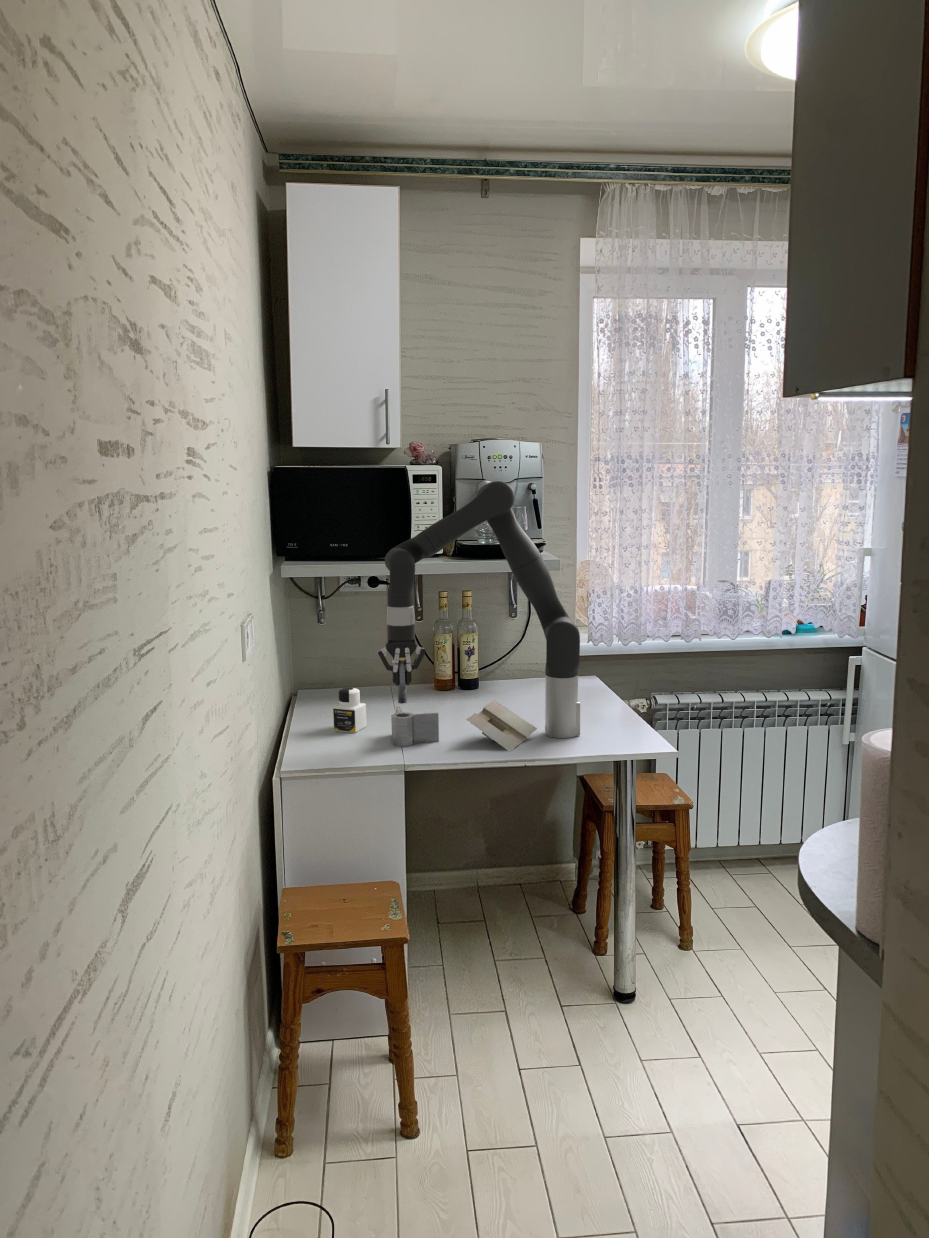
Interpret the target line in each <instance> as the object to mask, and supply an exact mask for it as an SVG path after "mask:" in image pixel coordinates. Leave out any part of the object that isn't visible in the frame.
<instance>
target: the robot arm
mask: <svg viewBox="0 0 929 1238" xmlns="http://www.w3.org/2000/svg"><path fill="white" fill-rule="evenodd" d="M515 496H516V495H515V492H514V489H513V487H512V486H511V485H509V484H508V482H505V481H499V480H494V481H490V482H489V483H485V484H484V485H482V486H481V487H480V488H479V489H478V491H477V495H476V497H474V498H473V499H472V500H471V501H469V502H468V503H467V504H465V505H464V506H462V507H461V508H460V509H458V510H455V511H454V512H452V513H451V514H449V515H447V516H445V517H443V518H442V519H439V520H438V521H436V522H435V523H432V524H431V525H429V526H427V527H426V528H425V529H424V530H422V531H420V532H419V533H417V534H416V535H415V536H413V537H411V538H409V539H407V540H406V541H405V540H404V541H403V542H401V543H400V544H397V545H395V546H394V547H392V548H391V549H390V550H389V551H388V552H387V553H386V555H385V557H384V564H385V567H386V568H387V570H388V571H389V586H388V587H387V594H386V595H387V599H386V600H387V602H386V603H387V610H386V638H387V639H386V644H385V647H382V648H381V649H377V651H376V653H377V655H378V657H379V659H380V660H381V662H382V663H383V665H384V667H385V669H386V670H387V671H391V672H392V683H393V684H394V685H395V686H397V687H398V672H397V669H398V662H399V658H401V657H406V685H407V686H409V685H410V684H411V683H412V672H413V670H417V669H419V667H420V664H421V662H422V660H423V659H424V656H425V654H426V651H427V650H426V649H425V648H424V647H423V646H422V647H421V646H419V645H417V641H416V626H415V625H416V615H415V614H416V613H415V608H414V607H415V605H414V584H415V583H414V582H415V576H416V564H417V563H419V562H420V561H422V560H423V559H428V558H430V557H433V556H434V555H436V554H437V553H438V552H440V551H442V550H443V549H445V548H447V547H448V546H449V545H451V544H453V543H454V542H455V541H456V540H458V539H459V538H461V537H462V536H464V534H466V533H468V532H469V531H471V530H472V529H474V528H476V527H477V526H479V525H480V524H483V523H484V522H486V523H488V525H489V527H490V528H491V530H492V531H493V534H494V535H495V537H496V538H497V541H498V543H499V546H500V548H501V550H502V553H503V555H504V557H505V559H506V562H507V564H508V566H509V568H510V570H511V572H512V575H513V577H514V579H515V580H516V582H517V584H518V586H519V588H520V589H521V591H522V592H523V594H524V596H525V597H526V598H527V600H528V602H530V604H531V605H532V607H533V609H534V610H535V613H536V614H537V619H538V620H539V622H540V625H541V628H542V630H543V634H544V638H545V640H546V645H545V646H546V648H545V649H546V652H545V653H546V654H545V655H546V658H545V667H544V669H545V672H544V673H545V674H544V675H545V679H544V680H545V681H544V682H545V685H544V688H545V690H544V691H545V693H544V695H545V696H544V697H545V699H544V700H545V701H544V704H545V706H544V713H545V714H544V720H545V722H544V732H545V733H544V734H545V735H546V736H547V737H549V738H550V737H551V738H556V739H568V738H569V739H570V738H575V737H578V736H581V702H580V701H579V669H580V661H581V660H580V659H581V658H580V657H581V655H580V653H581V651H580V650H581V647H580V646H581V635H580V631H579V628H578V627H577V625H576V624H575V622H574V621H573V620H572V619H571V617H570V616H569V614H568V612H567V611H566V609H565V608H564V605H563V604H562V603H561V601H560V599H559V597H558V595H557V592H556V589H555V586H554V585H555V584H554V582H553V578H552V576H551V574H550V571H549V569H548V566H547V564H546V563H545V560H544V558H543V556H542V555H541V552H540V550H539V549H538V547H537V546H536V544H535V542H533V541H532V539H531V538H530V536H529V535H527V533H526V532H525V531H524V529H523V528H522V526H521V525H520V524H519V522H518V520H517V517H516V516H515V514H514V513H515V512H514V511H513V509H512V508H513V506H514V503H515V499H516V497H515ZM387 652H388V653H389V654H390V656H391V658H392V661H391V662H392V663H391V664H389V662H388V659H387V658H386V657H387ZM414 652H415V653H416V656H415V659H414V661H413V662H411V661H412V660H411V656H413V654H414Z"/></svg>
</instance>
